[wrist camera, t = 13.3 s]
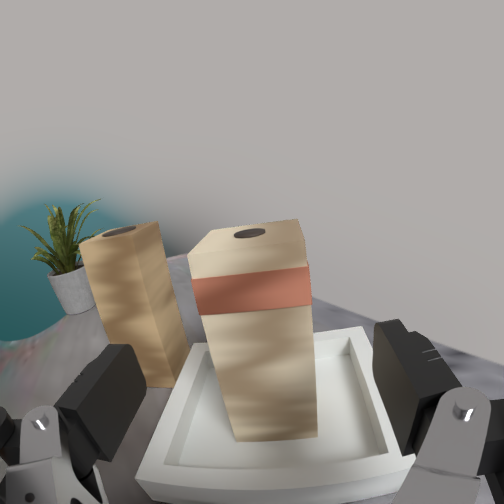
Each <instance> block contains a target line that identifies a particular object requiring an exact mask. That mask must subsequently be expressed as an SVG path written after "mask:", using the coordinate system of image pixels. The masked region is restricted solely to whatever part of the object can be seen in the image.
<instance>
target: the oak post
mask: <svg viewBox="0 0 504 504" xmlns="http://www.w3.org/2000/svg"><path fill="white" fill-rule="evenodd" d="M79 248H80V252H81V256H82V259H83V263H84V267H85V270H86V274H87V277H88V280H89V284H90V287H91V290H92V293H93V296H94V300H95V303H96V306H97V309H98V312H99V314H100V317H101V320H102V323H103V326H104V328H105V331H106V334H107V336H108V339H109V342H110V344H130V345H131V346H132V347H133V349H134V351H135V354H136V357H137V359H138V362H139V364H140V367H141V369H142V372H143V374H144V377H145V379H146V385H147V387H161V388H174V386H175V384H176V382H177V379H178V377H179V375H180V373H181V370H182V368H183V366H184V364H185V362H186V359H187V357H188V355H189V353H190V349H189V345H188V342H187V338H186V335H185V331H184V328H183V324H182V321H181V317H180V313H179V309H178V306H177V302H176V298H175V294H174V290H173V286H172V282H171V278H170V274H169V270H168V265H167V261H166V257H165V253H164V248H163V243H162V239H161V234H160V229H159V224H158V221H155V222H149V223H144V224H138V225H133V226H127V227H122V228H117V229H111V230H108V231H106V232H104V233H102V234H99V235H97V236H95V237H93V238H91V239H89V240H86V241H84V242H82V243H80V244H79Z"/></svg>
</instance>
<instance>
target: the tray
mask: <svg viewBox="0 0 504 504" xmlns="http://www.w3.org/2000/svg"><path fill="white" fill-rule="evenodd" d="M313 339H314V354H315V372H316V394H317V423H318V437H316V438H307V439H296V440H283V441H265V442H236V439H235V436H234V433H233V429H232V426H231V423H230V420H229V416H228V413H227V410H226V406H225V403H224V400H223V396H222V393H221V389H220V386H219V382H218V379H217V375H216V372H215V368H214V364H213V361H212V357H211V353H210V349H209V346H208V342H207V343H194V344H193V346H192V348H191V350H190V353H189V355H188V357H187V359H186V362H185V364H184V366H183V368H182V370H181V373H180V375H179V377H178V379H177V382H176V384H175V386H174V389H173V391H172V393H171V395H170V398H169V400H168V402H167V404H166V407H165V409H164V411H163V413H162V416H161V418H160V420H159V423H158V425H157V427H156V430H155V432H154V434H153V436H152V439H151V441H150V443H149V446H148V448H147V450H146V453H145V455H144V457H143V460H142V462H141V464H140V467H139V469H138V471H137V474H136V476H135V480H136V481H137V482H138V483H139V485H140V486H141V487H142V488H143V490H144V491H145V492H146V493H147V494H148V495H149V497H150V498H151V499H152V500H154V501H160V502H166V503H172V504H341V503H347V502H353V501H358V500H364V499H368V498H373V497H378V496H382V495H386V494H390V493H394V492H398V491H399V489H400V487H401V485H402V483H403V482H404V480H405V478H406V476H407V474H408V472H409V470H410V468H411V466H412V465H413V464H414V462H415V460H416V456H415V454H411V455H407V456H404V457H402V455H401V452H400V449H399V446H398V443H397V440H396V437H395V435H394V432H393V429H392V426H391V423H390V421H389V418H388V415H387V412H386V410H385V407H384V404H383V402H382V399H381V396H380V394H379V391H378V389H377V386H376V384H375V381H374V377H373V371H372V358H373V349H372V347H371V345H370V343H369V340H368V338H367V336H366V334H365V332H364V330H363V327H362V326H359V327H353V328H346V329H339V330H332V331H325V332H317V333H313Z"/></svg>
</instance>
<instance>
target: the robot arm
mask: <svg viewBox="0 0 504 504" xmlns="http://www.w3.org/2000/svg"><path fill="white" fill-rule="evenodd" d="M372 371H373V377H374V381H375V384H376V386H377V389H378V391H379V394H380V396H381V399H382V402H383V404H384V407H385V410H386V412H387V415H388V418H389V421H390V423H391V426H392V429H393V432H394V435H395V437H396V440H397V443H398V446H399V449H400V452H401V455H402V457H404V456H407V455H411V454H415V456H416V460H415V462H414V464H413V465H412V466H411V468H410V470H409V472H408V474H407V476H406V478H405V480H404V482H403V483H402V485H401V487H400V489H399V491H398V493H397V494H396V496H395V498H394V500H393V501H392V503H391V504H474V503H475V500H476V497H477V494H478V491H479V487H480V478H478V477H476V476H479V475H485V477H486V480H487V482H488V485H489V487H490V490H491V493H492V496H493V498H494V501H495V504H504V399H499V400H489V399H488V398H487V396H486V395H485V394H484V393H482V392H481V391H479V390H477V389H474V388H470V387H462V385H461V384H460V382H459V381H458V379H457V378H456V376H455V375H454V374H453V372H452V371H451V369H450V368H449V367H448V365H447V364H446V362H445V361H444V360H443V358H441V356H440V354H439V353H438V351H437V350H435V347H434V346H433V345H432V343H431V342H430V341H429V339H428V338H426V337H425V336H423V335H421V334H419V333H418V332H416V331H414V332H408V331H407V329H406V328H405V327H404V325H403V324H402V322H401V321H400V320H399V319H395V320H389V321H384V322H378V323H376V324H375V326H374V341H373V358H372ZM146 390H147V385H146V379H145V377H144V374H143V372H142V369H141V367H140V364H139V362H138V359H137V357H136V354H135V351H134V349H133V347H132V346H131V345H130V344H109V345H108V346H107V347H106V348H105V349H104V350H103V351H102V353H101V354H100V355H99V356H98V357H97V358H96V359H95V360H93V361H92V362H90V363H89V364H88V365H87V366H86V367H85V368H84V369H83V370H82V372H81V373H80V375H78V376H77V378H76V379H75V380H74V382H73V383H72V384H71V385H70V386H69V387H68V389H67V390H66V391H65V392H64V394H63V395H62V396H61V397H60V398H59V400H58V401H57V402H56V403H55V405H54V406H49V405H42V406H38V407H36V408H34V409H32V410H30V411H29V412H28V413H27V414H26V415H25V416H24V418H23V419H11V417H10V416H9V414H8V413H7V411H6V410H5V408H3V407H0V456H1V458H2V459H3V460H4V461H5V462H6V463H7V465H8V467H7V469H6V475H5V477H4V478H3V480H2V481H1V483H0V504H109V502H108V499H107V496H106V493H105V490H104V487H103V484H102V481H101V477H100V474H99V470H98V468H97V466H96V465H95V464H94V463H95V462H96V460H97V459H100V460H104V461H108V462H111V461H112V459H113V457H114V455H115V453H116V451H117V449H118V447H119V445H120V443H121V441H122V439H123V437H124V436H125V434H126V432H127V430H128V428H129V426H130V424H131V422H132V420H133V418H134V416H135V414H136V412H137V410H138V408H139V407H140V405H141V403H142V401H143V399H144V397H145V395H146Z"/></svg>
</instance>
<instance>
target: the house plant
mask: <svg viewBox="0 0 504 504" xmlns="http://www.w3.org/2000/svg"><path fill="white" fill-rule="evenodd" d="M95 201H97V200H95ZM95 201H93V202H95ZM93 202H91V203H93ZM91 203H89V204H88V205H87V206H86V207H85V208H84V209H83V210H82V211H81V213H80V215H79V217H78V219H77V221H76V218H77V215H78V214H77V212H78V209H79V208H80V207H79V208H77V207H76V208H75V209H73V211H72V212H71V214H70V217H69V223H68V225H67V226H68V231H67V238H66V232H65V228H66V227H67V226H65V222H64V218H63V214H62V210H61V208H60V207H59V208H58V210H57V208H56V207H54V206H53V205H52V206H53V208H54V211H55V213H56V217H55V218H54V216H53V214H52V212H51V211H50V209H49V208H48V207H47V206H46V207H47V208H48V210H49V212H50V214H51V216H48V225H49V229H50V235H51V239H52V240H53V246H54V249H55V251H54V250H53V249H52V248H51V247H50V246H49V245H48V244H47V243H46V241H45V240H44V239H43V238H42V237H41V236H40V235H39V234H37V233H36V232H35V231H33V230H31V229H29V228H27V227H24V226H22V227H24V228H26V229H27V230H29V231H30V232H31V233H33V234H34V235H35V236H36V237H37V238H38V239H39V240H40V241H41V242H42V243H43V244H44V245H45V246H46V247H47V248H48V250H49V251H50V252H51V253H52V254H53V255H54V256H53V255H52V254H49V253H48V252H47V251H45V250H43V249H41V248H40V247H35V248H36V249H37V250H38V252H37V253H35V255H34V257H33V258H32V259H34V260H39V261H42V262H45V263H47V264H48V265H49V266H50V267H51V268H52V269H53V270H52V271H51V272H49V273H48V275H47V277H48V279H49V281H50V283H51V285H52V287H53V289H54V291H55V293H56V295H57V297H58V299H59V301H60V303H61V305H62V307H63V309H64V310H65V312H66V314H69V315H73V314H79V313H82V312H85V311H87V310H89V309H91V308H92V307H93V306H94V305H95V304H96V303H95V300H94V296H93V293H92V290H91V287H90V284H89V280H88V277H87V274H86V270H85V267H84V263H83V261H79V260H80V258H81V254H80V250H78V247H79V244H80V243H81V242H82V241H83V240H84V239H86V238H89V237H85V238H82V239H81V240H80V241H79V242H78V243H77V239H78V236H77V239H76V241H74V242H73V238H74V234H75V229H76V227H77V224H78V221H79V219H80V217H81V215H82V213H83V212H84V210H85V209H86V208H87V207H88V206H89V205H90V204H91ZM91 212H93V211H91ZM91 212H89V213H88V214H87V216H88V215H89V214H90V213H91ZM87 216H86V217H87ZM86 217H85V218H84V220H85V219H86ZM84 220H83V222H84ZM75 221H76V225H75V227H74V224H75ZM83 222H82V224H83ZM82 224H81V226H80V229H81V227H82ZM80 229H79V231H80ZM73 230H74V231H73ZM97 231H98V230H97ZM97 231H96V232H97ZM96 232H94V233H96ZM94 233H93V234H92V235H91V236H90V238H89V239H91V237H95V236H93V235H94ZM78 235H79V232H78ZM76 243H77V244H76ZM39 254H42V255H43V256H45V257H46V258H47V259H48V260H47V259H45V258H43V257H40V256H37V255H39ZM77 254H80V258H79V260H78V262H76V255H77ZM35 256H37V257H35ZM50 261H51V262H52V263H53V264H54V265H55V266H56V267H57V268H55V266H54V265H53V264H52V263H51V262H50Z"/></svg>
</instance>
